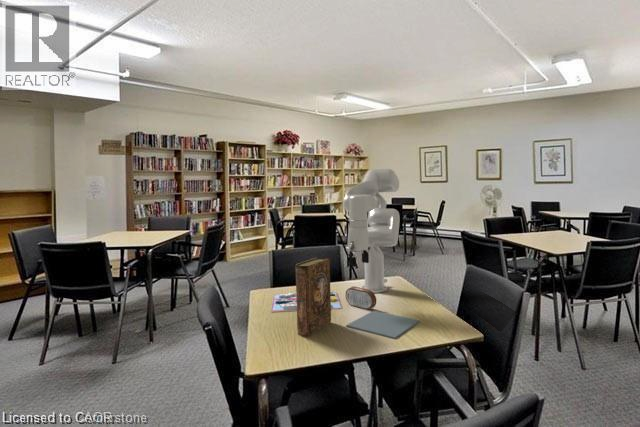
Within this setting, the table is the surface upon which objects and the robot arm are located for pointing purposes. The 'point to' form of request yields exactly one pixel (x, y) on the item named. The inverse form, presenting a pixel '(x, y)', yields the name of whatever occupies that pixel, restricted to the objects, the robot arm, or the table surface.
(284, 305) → the puzzle board
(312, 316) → the book
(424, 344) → the table surface
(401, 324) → the mat
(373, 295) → the tin
